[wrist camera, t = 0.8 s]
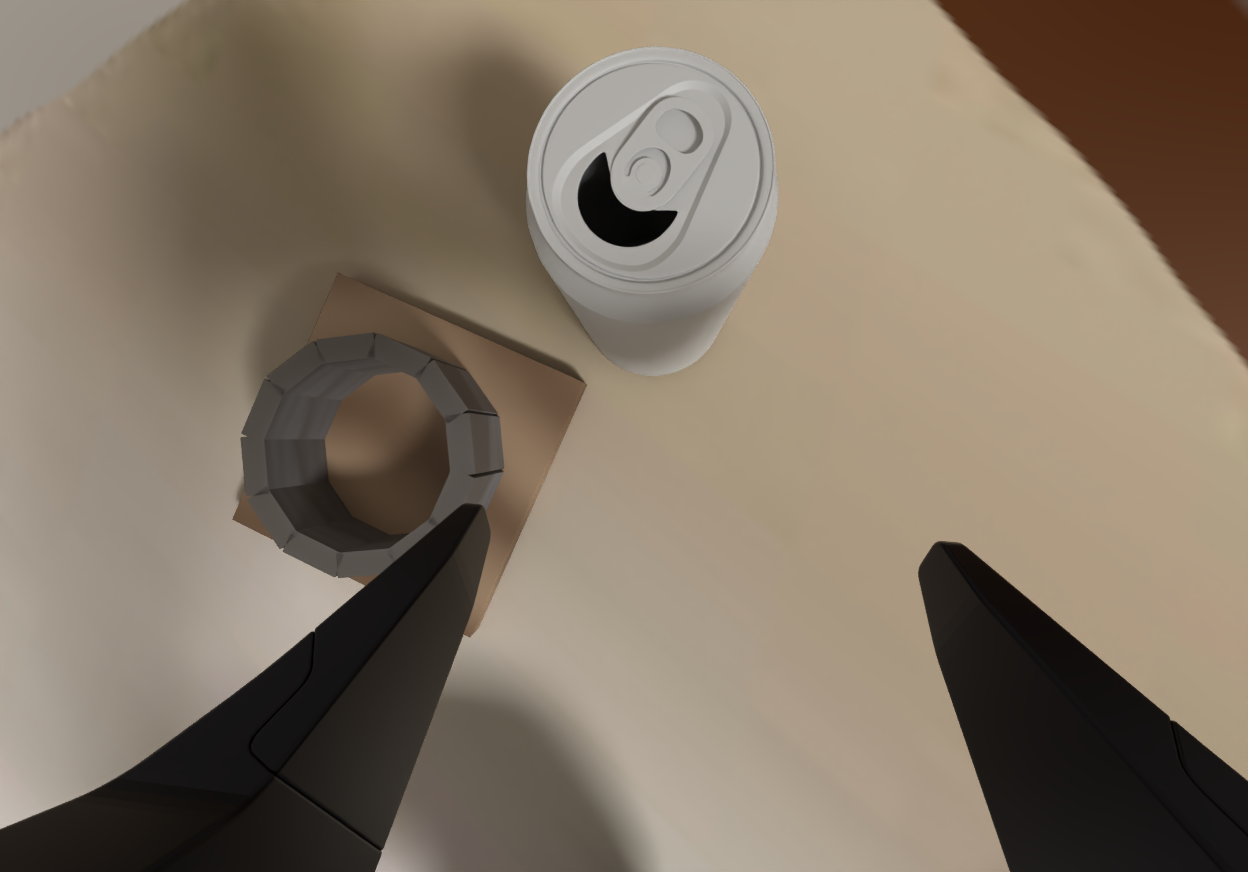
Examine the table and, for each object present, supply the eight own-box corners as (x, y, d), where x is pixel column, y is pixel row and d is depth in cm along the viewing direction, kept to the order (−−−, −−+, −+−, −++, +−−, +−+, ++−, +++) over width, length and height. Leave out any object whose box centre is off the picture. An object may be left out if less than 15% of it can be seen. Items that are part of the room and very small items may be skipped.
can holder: (478, 628, 23) (434, 674, 19) (250, 516, 24) (155, 533, 20) (586, 384, 23) (568, 371, 18) (351, 279, 24) (279, 242, 19)
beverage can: (560, 320, 23) (452, 191, 11) (647, 216, 23) (633, -33, 11) (661, 405, 23) (663, 369, 11) (750, 301, 22) (856, 141, 10)
